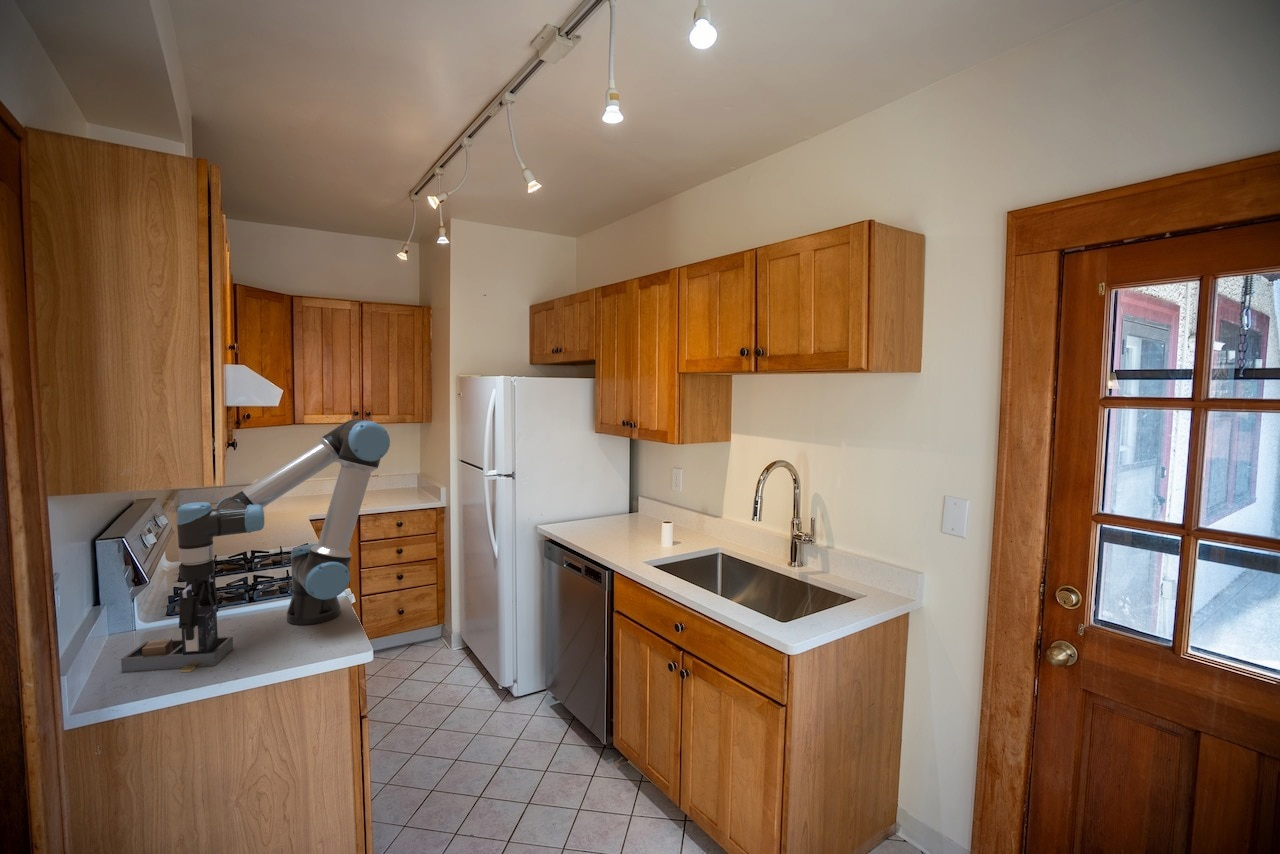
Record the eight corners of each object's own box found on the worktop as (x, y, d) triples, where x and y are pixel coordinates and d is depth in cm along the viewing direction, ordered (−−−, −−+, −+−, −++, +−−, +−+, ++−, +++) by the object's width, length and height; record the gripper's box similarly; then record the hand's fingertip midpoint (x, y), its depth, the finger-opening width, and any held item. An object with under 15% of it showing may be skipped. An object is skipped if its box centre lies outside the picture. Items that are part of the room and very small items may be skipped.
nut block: (150, 659, 167) (149, 641, 166) (172, 656, 168) (171, 638, 168) (143, 667, 162) (142, 648, 162) (165, 664, 164) (164, 646, 163)
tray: (146, 653, 169) (146, 641, 169) (233, 648, 173) (232, 636, 173) (115, 676, 157) (114, 663, 156) (209, 670, 160) (209, 657, 160)
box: (206, 653, 164) (204, 614, 163) (182, 655, 162) (179, 616, 161) (218, 641, 171) (216, 604, 170) (195, 643, 170) (193, 605, 169)
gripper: (201, 550, 174) (205, 628, 176) (158, 574, 154) (163, 662, 156) (230, 549, 176) (234, 627, 178) (191, 572, 155) (196, 660, 157)
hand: (201, 643), depth 167 cm, fingers closed on box, 8 cm apart
